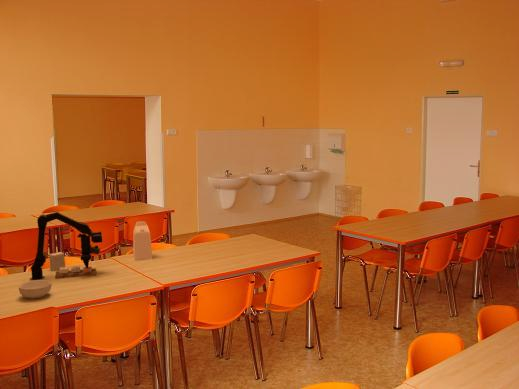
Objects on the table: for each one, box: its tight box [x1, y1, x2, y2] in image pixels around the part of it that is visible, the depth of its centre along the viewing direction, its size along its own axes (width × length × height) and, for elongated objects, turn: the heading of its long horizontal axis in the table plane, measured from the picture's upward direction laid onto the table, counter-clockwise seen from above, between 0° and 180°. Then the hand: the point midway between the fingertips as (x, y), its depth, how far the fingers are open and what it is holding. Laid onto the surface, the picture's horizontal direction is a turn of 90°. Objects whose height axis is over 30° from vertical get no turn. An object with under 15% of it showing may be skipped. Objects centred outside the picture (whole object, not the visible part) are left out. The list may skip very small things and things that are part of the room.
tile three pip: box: [82, 266, 93, 272], centre depth 350 cm, size 5×5×3 cm
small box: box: [48, 251, 66, 272], centre depth 363 cm, size 8×6×10 cm
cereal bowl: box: [18, 279, 52, 300], centre depth 306 cm, size 17×17×7 cm
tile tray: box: [54, 267, 97, 280], centre depth 348 cm, size 24×10×2 cm, turn 105°
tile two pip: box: [70, 265, 81, 273], centre depth 348 cm, size 5×5×3 cm
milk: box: [132, 221, 153, 261], centre depth 387 cm, size 12×12×26 cm
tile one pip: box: [58, 266, 69, 274], centre depth 346 cm, size 5×5×3 cm
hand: (87, 267), depth 349 cm, fingers closed, pressing on tile three pip
